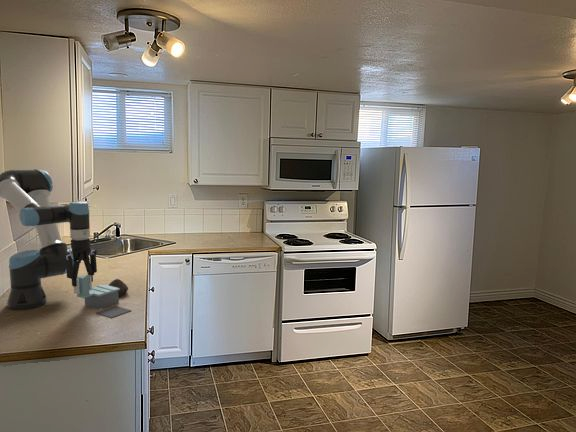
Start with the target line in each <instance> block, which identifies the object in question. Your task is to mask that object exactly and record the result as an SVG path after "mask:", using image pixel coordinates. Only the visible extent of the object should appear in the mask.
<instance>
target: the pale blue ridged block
mask: <svg viewBox="0 0 576 432" xmlns="http://www.w3.org/2000/svg"><path fill="white" fill-rule="evenodd" d="M77 278H78V279H79V292H80V294H76V297H78V298H81V299H85V298H86V297H90V296H93V295H95V296H98V297H99V296H102V295H105V294H109V293H112V292H115V291H118V290H120V288H117V287H113V286H109V284H108V285H107V284H100V285H96V286H92V290H89V277H88V276H86V275H84V274H82V275H77Z"/></svg>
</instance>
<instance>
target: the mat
mask: <svg viewBox="0 0 576 432" xmlns="http://www.w3.org/2000/svg"><path fill="white" fill-rule="evenodd" d="M129 312H132V309H129V308H124V307H121V306H117V305H113V306H111V307H109V308H104V309H102V310H100V311H97V312H95V314H96V315H99V316H103V317H105V318H106V317H107V318H109V319H114V318H116V317H119V316H122V315H124V314H127V313H129Z"/></svg>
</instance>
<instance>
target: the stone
mask: <svg viewBox="0 0 576 432" xmlns="http://www.w3.org/2000/svg"><path fill="white" fill-rule="evenodd" d="M108 285H109V286H113V287H117V288H120V290H118V298H123V297H125V296H126V294H127V292H128V290H129V287H128V285H127V284H126V283H125V282H124V281H122V280H121V279H120V278H115V279H114V280H111V282H109V283H108Z"/></svg>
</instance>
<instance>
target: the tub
mask: <svg viewBox="0 0 576 432" xmlns="http://www.w3.org/2000/svg"><path fill="white" fill-rule="evenodd" d="M116 304H119V297H118V291H115V292H112V293H109V294H105V295H102V296H99V297H98V296H95V295H93V296H90V297H86V298H84V306H88V307H90V308H94V309H98V310H101V309H102V310H103V309H106V308H107V307H110V306H111V307H112V306H115V305H116Z"/></svg>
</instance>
